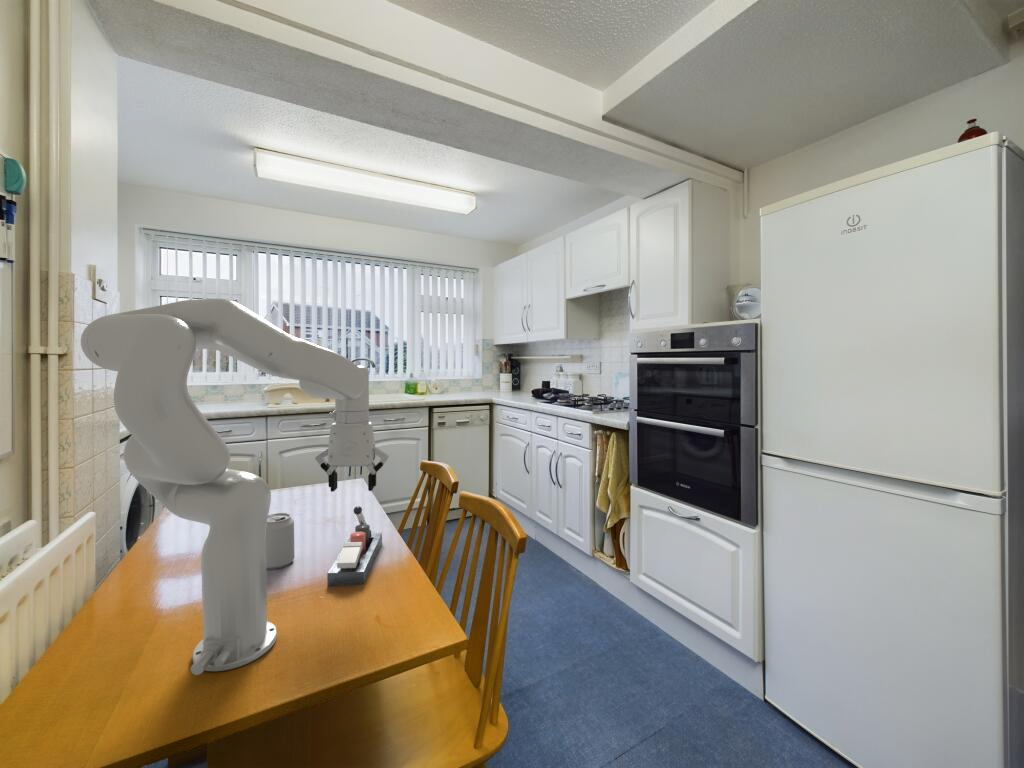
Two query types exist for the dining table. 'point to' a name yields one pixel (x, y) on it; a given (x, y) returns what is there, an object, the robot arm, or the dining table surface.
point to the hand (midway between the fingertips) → (352, 489)
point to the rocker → (349, 555)
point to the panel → (362, 569)
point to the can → (279, 540)
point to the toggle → (359, 515)
